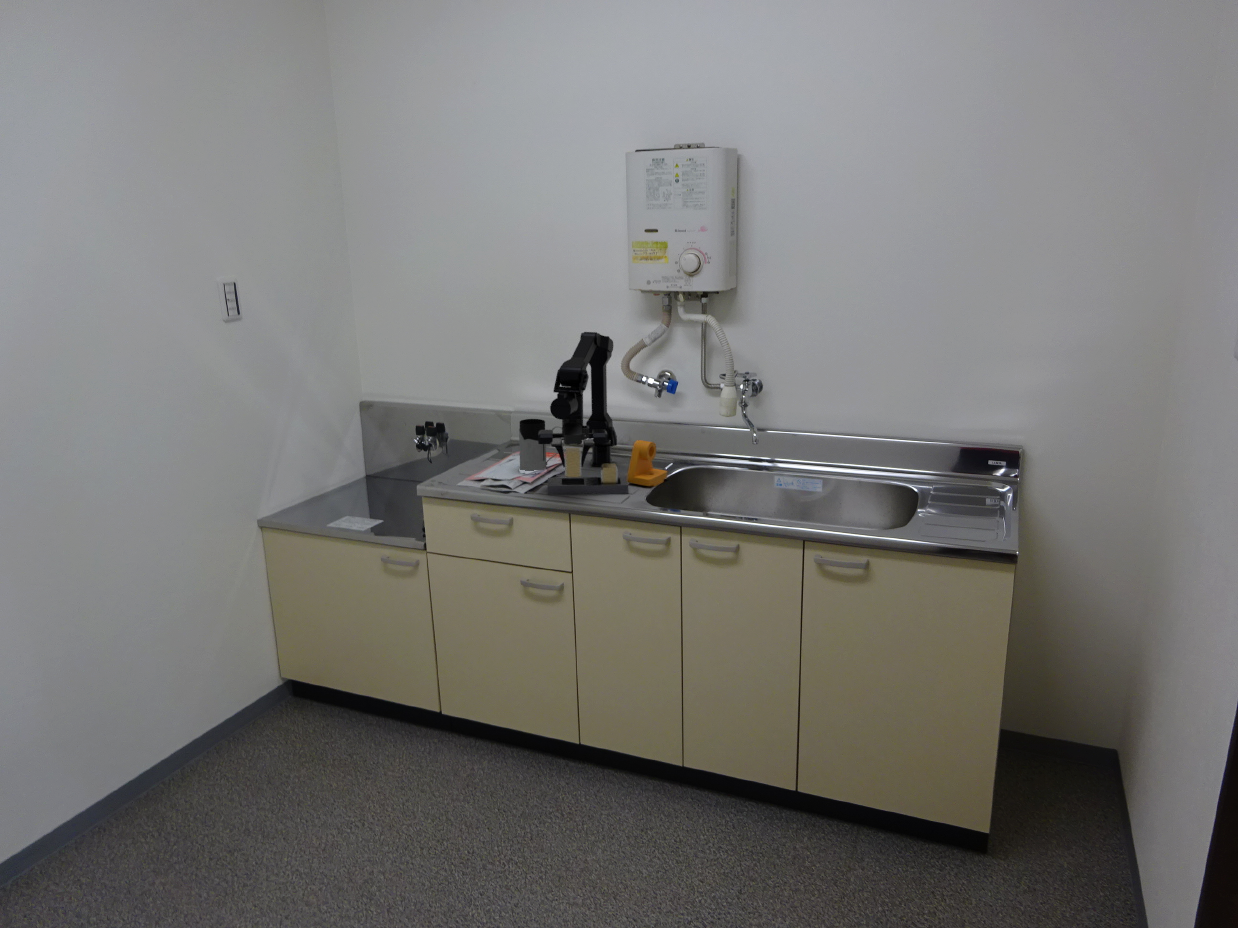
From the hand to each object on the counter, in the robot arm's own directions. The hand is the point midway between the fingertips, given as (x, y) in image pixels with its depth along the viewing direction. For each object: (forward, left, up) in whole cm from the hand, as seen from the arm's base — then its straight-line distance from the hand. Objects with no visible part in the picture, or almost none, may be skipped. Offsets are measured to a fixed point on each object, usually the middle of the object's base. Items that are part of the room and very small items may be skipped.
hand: (573, 466), depth 241 cm
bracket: (-7, +21, -7) cm, 24 cm away
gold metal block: (0, 0, -2) cm, 2 cm away
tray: (0, +4, -7) cm, 8 cm away
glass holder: (-20, -9, -7) cm, 23 cm away
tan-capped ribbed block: (0, +10, -7) cm, 12 cm away
